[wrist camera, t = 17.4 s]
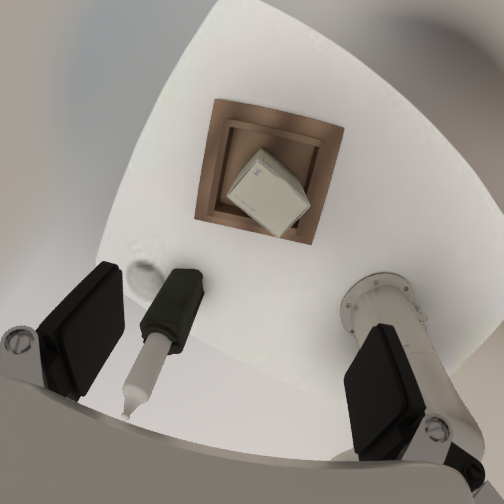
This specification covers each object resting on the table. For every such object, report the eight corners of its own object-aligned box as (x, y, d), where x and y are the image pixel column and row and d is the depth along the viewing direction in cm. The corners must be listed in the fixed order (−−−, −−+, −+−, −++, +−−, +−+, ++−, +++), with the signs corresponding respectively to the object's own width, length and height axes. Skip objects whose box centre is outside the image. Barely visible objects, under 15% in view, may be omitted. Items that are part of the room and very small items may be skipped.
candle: (169, 268, 44) (92, 398, 21) (202, 269, 43) (140, 410, 21) (174, 296, 46) (110, 426, 24) (205, 298, 46) (155, 438, 23)
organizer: (342, 127, 33) (351, 129, 29) (310, 242, 40) (314, 256, 36) (216, 99, 33) (208, 96, 29) (196, 216, 40) (186, 228, 36)
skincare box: (239, 170, 36) (221, 195, 25) (262, 144, 34) (255, 156, 23) (277, 203, 37) (277, 241, 26) (301, 177, 36) (312, 205, 25)
